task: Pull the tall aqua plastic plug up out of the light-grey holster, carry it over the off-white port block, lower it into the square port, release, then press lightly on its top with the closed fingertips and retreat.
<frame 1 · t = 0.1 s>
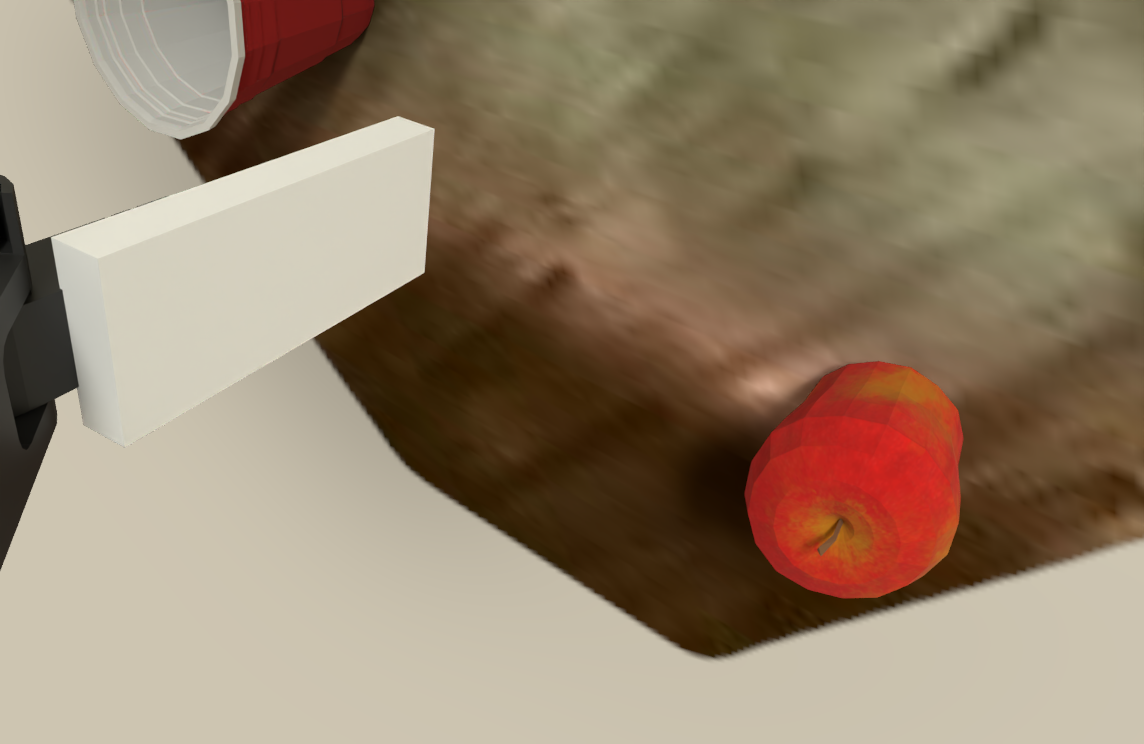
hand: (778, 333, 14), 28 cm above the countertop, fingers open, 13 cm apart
apple: (886, 411, 45), on the countertop
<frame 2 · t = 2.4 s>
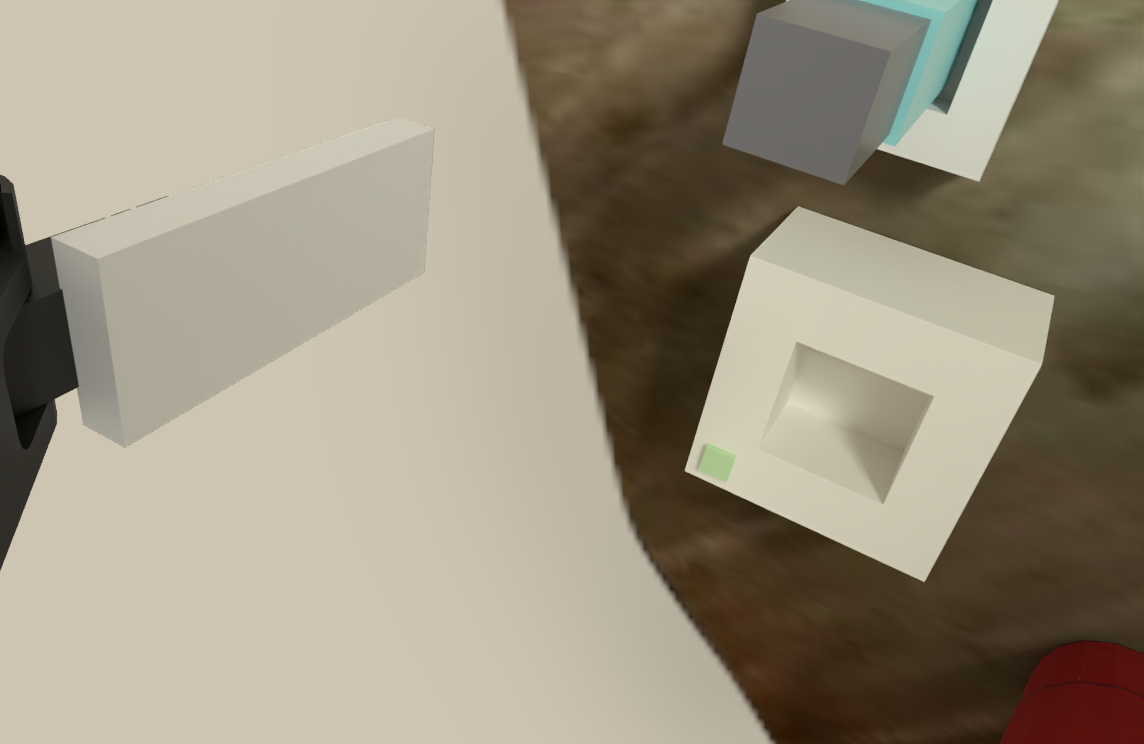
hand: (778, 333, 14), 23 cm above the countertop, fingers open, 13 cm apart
plastic cup: (1102, 685, 40), on the countertop
holster: (921, 14, 32), on the countertop
port: (875, 356, 38), on the countertop
plug: (916, 18, 31), point 1 cm above the countertop, touching holster
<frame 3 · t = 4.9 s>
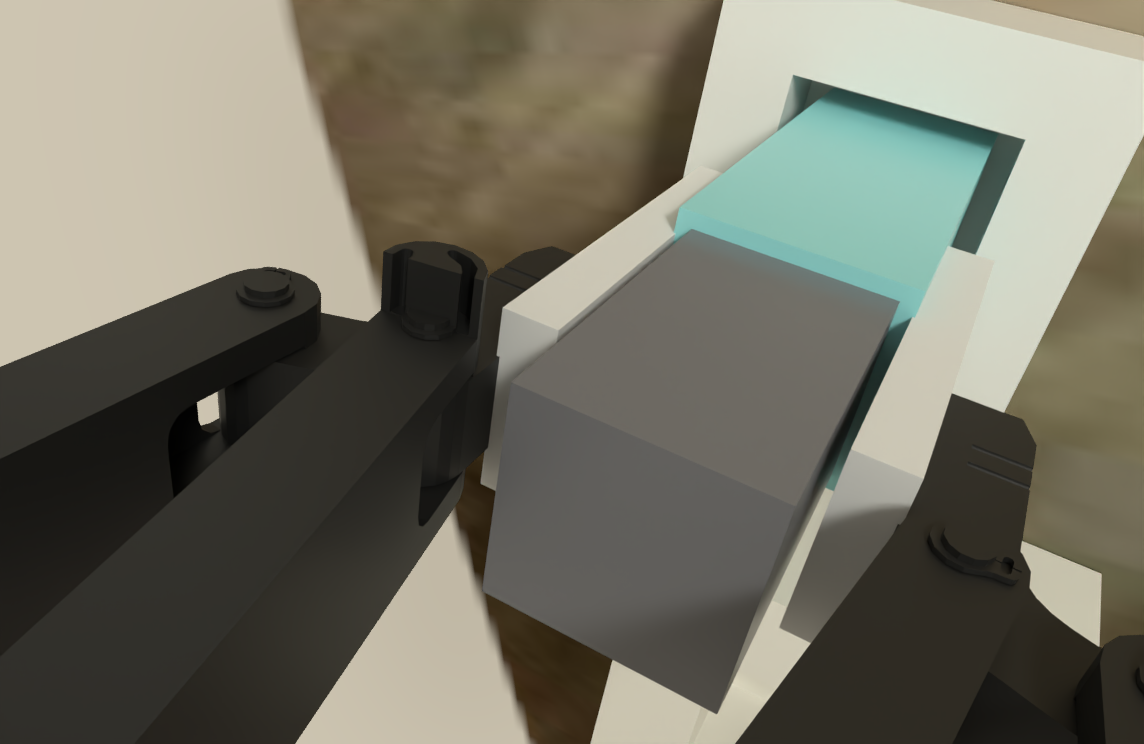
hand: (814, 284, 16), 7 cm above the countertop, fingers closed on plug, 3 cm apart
holster: (894, 175, 21), on the countertop
port: (845, 619, 27), on the countertop
plug: (886, 187, 20), point 1 cm above the countertop, touching gripper, holster
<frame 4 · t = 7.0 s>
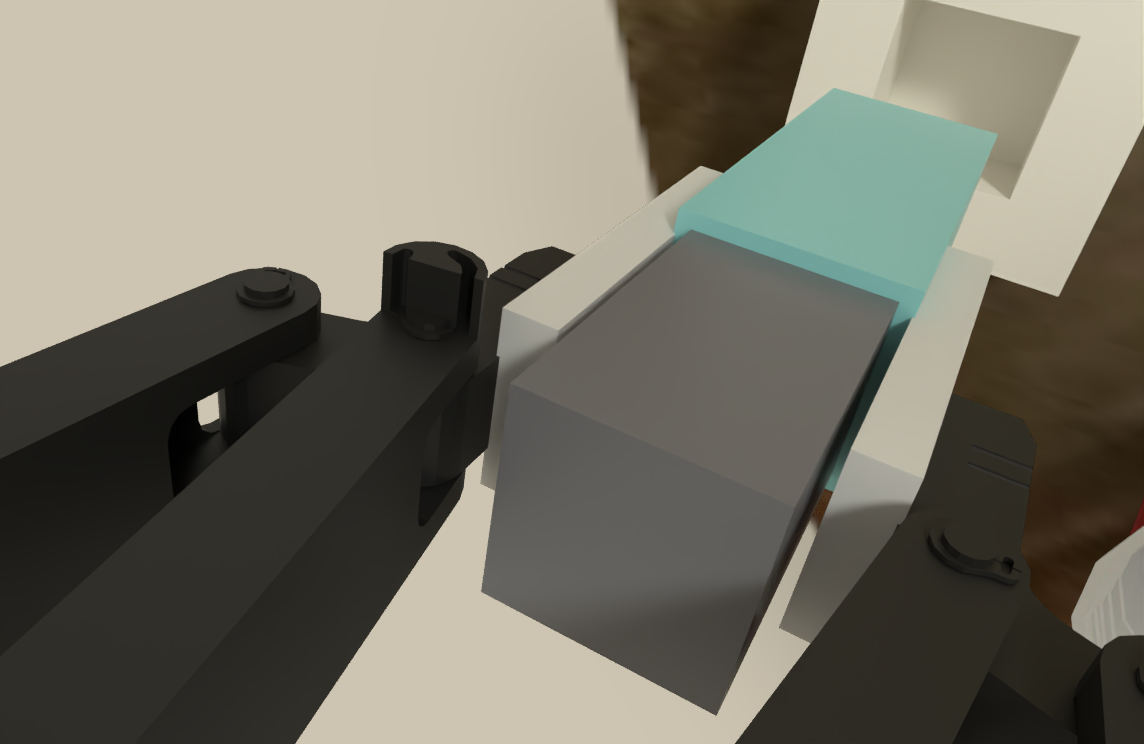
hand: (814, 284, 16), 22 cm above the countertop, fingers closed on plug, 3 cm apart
port: (982, 65, 33), on the countertop
plug: (886, 187, 20), point 16 cm above the countertop, touching gripper
when the fingers open (8 cm above the countertop, at t = 9.2 s): plug stays where it is, resting on port.
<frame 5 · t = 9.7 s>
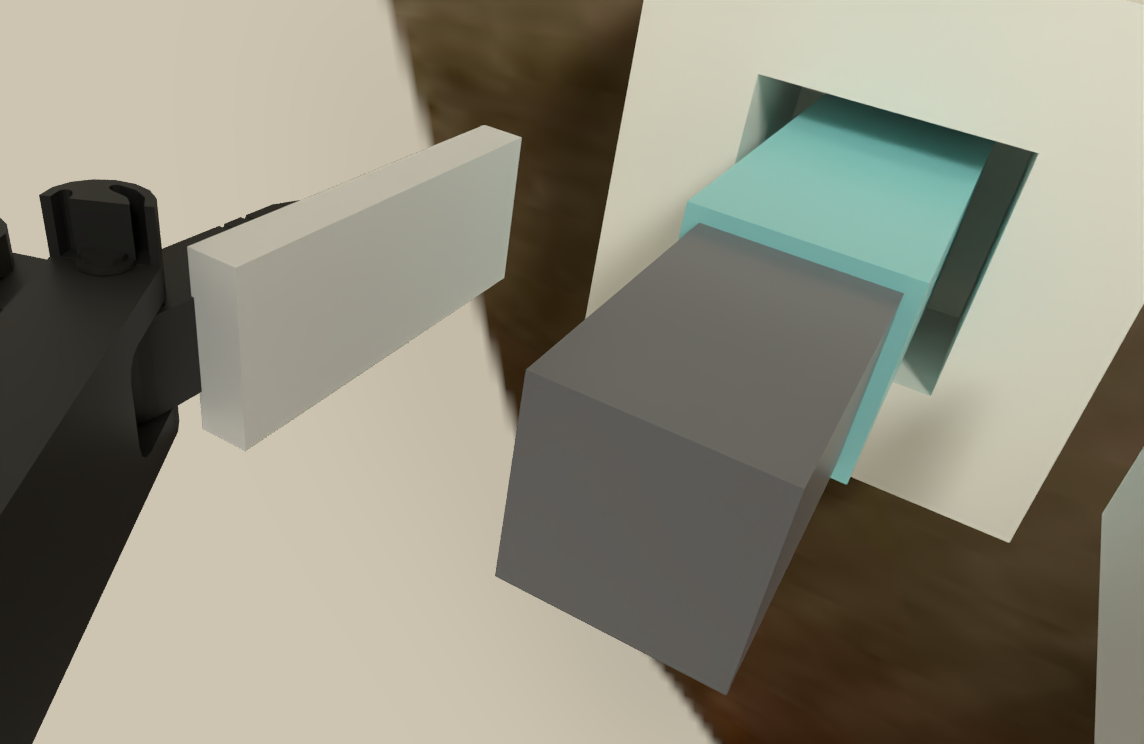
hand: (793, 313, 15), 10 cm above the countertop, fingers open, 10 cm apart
port: (905, 161, 22), on the countertop
plug: (888, 183, 21), point 2 cm above the countertop, touching port
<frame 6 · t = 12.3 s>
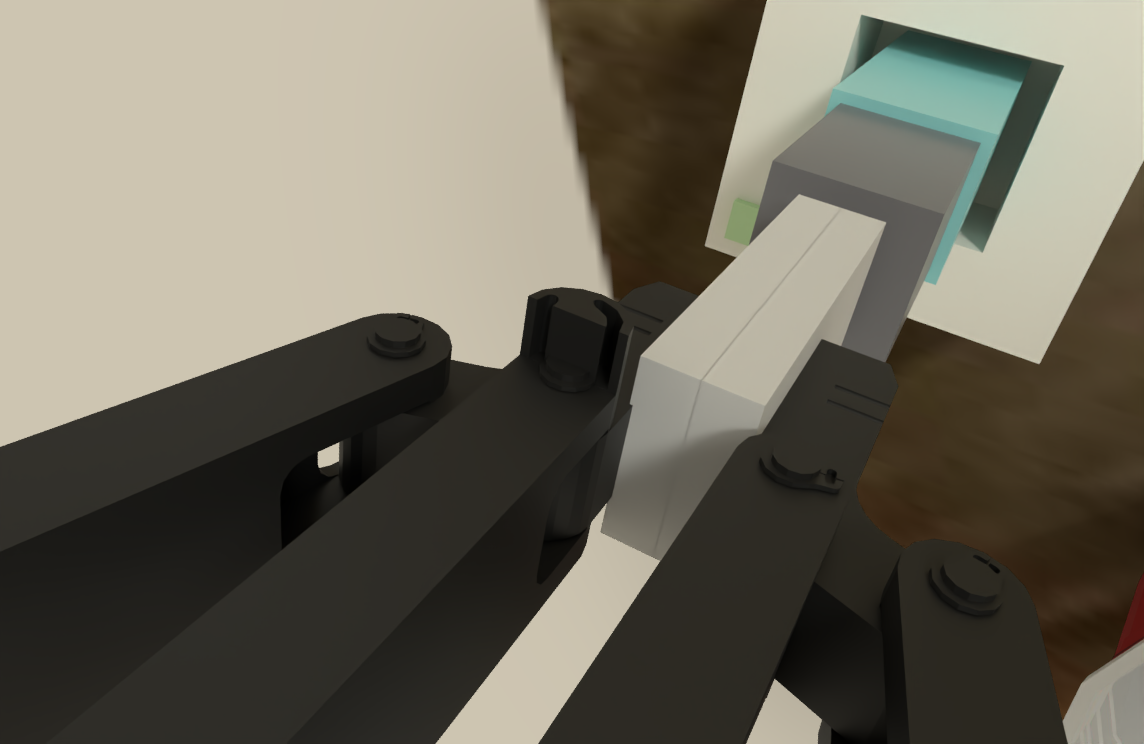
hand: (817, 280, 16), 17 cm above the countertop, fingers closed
port: (955, 92, 29), on the countertop
plug: (946, 105, 27), point 2 cm above the countertop, touching port
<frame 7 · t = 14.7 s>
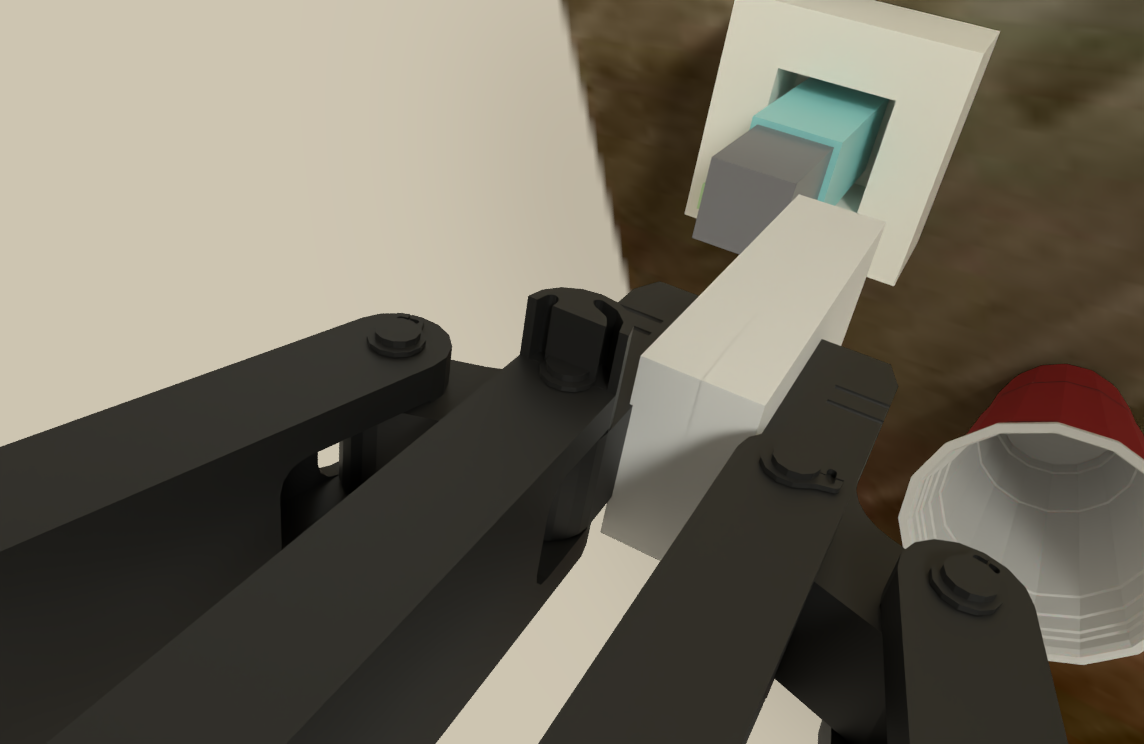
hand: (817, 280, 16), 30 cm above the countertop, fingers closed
plastic cup: (1056, 410, 45), on the countertop
port: (850, 113, 44), on the countertop
plug: (840, 122, 42), point 2 cm above the countertop, touching port
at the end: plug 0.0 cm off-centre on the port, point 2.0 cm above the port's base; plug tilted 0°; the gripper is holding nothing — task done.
